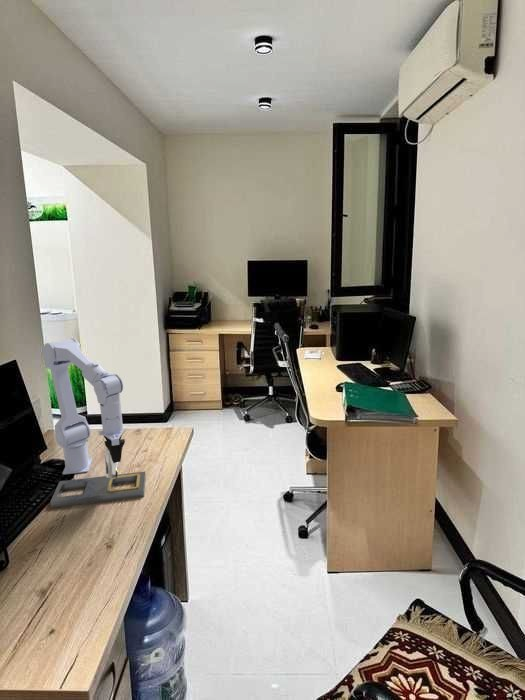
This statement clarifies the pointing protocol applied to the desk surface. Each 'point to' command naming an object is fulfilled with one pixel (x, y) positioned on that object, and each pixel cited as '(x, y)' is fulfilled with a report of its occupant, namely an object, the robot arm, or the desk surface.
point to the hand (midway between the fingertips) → (116, 458)
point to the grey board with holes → (99, 489)
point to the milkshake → (110, 466)
